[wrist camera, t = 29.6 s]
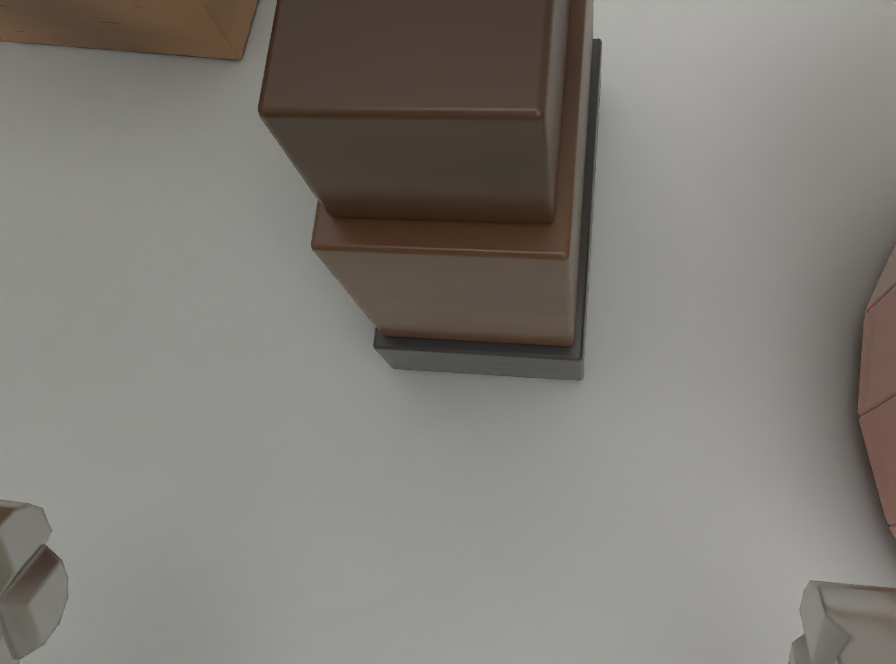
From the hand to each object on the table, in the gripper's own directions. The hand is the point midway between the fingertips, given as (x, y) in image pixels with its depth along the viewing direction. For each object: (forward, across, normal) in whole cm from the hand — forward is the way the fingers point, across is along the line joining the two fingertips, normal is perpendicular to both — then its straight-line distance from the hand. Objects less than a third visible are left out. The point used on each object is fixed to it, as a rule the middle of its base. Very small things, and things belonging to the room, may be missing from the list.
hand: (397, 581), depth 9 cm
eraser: (+9, 0, -1) cm, 9 cm away
